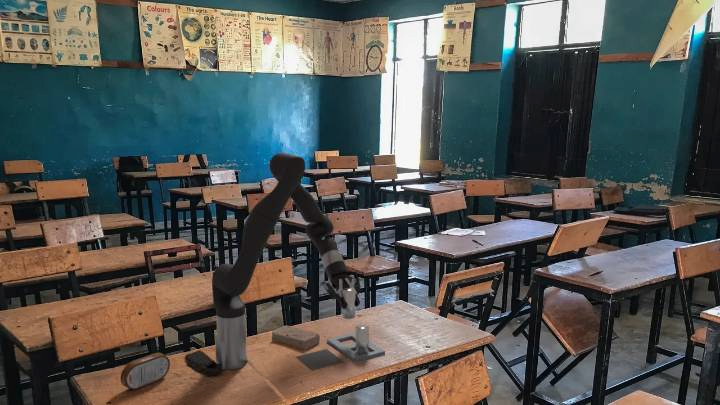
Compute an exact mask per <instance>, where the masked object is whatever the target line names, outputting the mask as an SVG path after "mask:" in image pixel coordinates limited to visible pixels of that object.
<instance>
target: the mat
mask: <svg viewBox="0 0 720 405" xmlns="http://www.w3.org/2000/svg"><path fill="white" fill-rule="evenodd" d="M295 358H296V359H297V360H298V361H299V362H301V363H302V364H303V365H305V367H307V369H309V370H310V371H312V372H313V371H315V370H319V369H323V368H327V367H330V366H334V365H337V364H342V363H345V361H343V360H342V359H341V358H340V357H338V356H337V355H336V354H334V353H333V352H331V351H330V350H329V349H327V348H325V349H321V350H316V351H313V352H309V353H305V354H301V355H296V356H295Z"/></svg>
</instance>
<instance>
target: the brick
mask: <svg viewBox="0 0 720 405" xmlns="http://www.w3.org/2000/svg"><path fill="white" fill-rule="evenodd" d="M271 343H274V344H277V343H282V344H285V345H289V346H292V347H295V348H298V349H301V350H308V349H310V348H312V347H314V346H316V345H317V344H319V343H320V334H319V333H317V332H314V331H310V330H304V329H301V328H298V327H295V326H292V325H291V326H290V325H284V326H281V327H278V328H277V329H275V330H273V331H272V332H271Z"/></svg>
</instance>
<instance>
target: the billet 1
mask: <svg viewBox="0 0 720 405" xmlns="http://www.w3.org/2000/svg"><path fill="white" fill-rule="evenodd" d="M342 295H343V296H342V297H344V300H345V302H346V304H347V308H346V309H343V308H341V309H342V310H341V311H342V312H341V313H342V319H345V320H352V319H355V318H356V306H355V288H343V289H342Z"/></svg>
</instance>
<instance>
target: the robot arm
mask: <svg viewBox="0 0 720 405" xmlns="http://www.w3.org/2000/svg"><path fill="white" fill-rule="evenodd" d="M269 170H270V172H271V175H272V176H273V177H274V178H275V180H276V181H277V184H276V186H275V187H274V188H273V189H272V190H271V191H270V192H269V193H268V194H267V195H265V196H264V197H263V198H262V199H260V200H259V201H258V202H257V203H256V204H255V205H254V206H253V207H252V209H251V211H250V212H249V215H248V217H247V219H246V221H245V222H244V226H243V231H242V243H241V249H240V252H239V254H238V257H237V259H236V261H235V262H234V264H230V263H223V264H219V265H218V266H217V267H216V268H215V270H214V272H213V273H212V278H211V289H212V290H211V291H212V300H213V307H214V308H215V309H214V310H215V311H216V312H215V314H216V335H215V336H214V341H215V346H214V347H215V362H216V363H217V364H219V365H221V366H222V368H221V370H222V371H224V370H236V369H240V368H243V367H245V366H246V364H247V363H248V361H247V360H248V358H247V357H248V356H247V353H248V352H247V322H246V321H247V319H246V314H247V313H246V304H245V303H244V302H243V300H242V299H241V295H242V294H244V292H246V290H247V289H248V287H249V285H250V283H251V280H252V278H253V275H254V272H255V271H256V270H255V269H256V267H257V265H258V262H259V260H260V257H261V255H262V253H263V252H264V249H265V247H266V244H267V243H268V241H269V238H270V237H271V235H272V233H273V231H274V229H275V227H276V225H277V223H278V220H279V219H280V217H281V214H282V213H283V211H284V209H285V207H286V205H287V203H288V202H289V200H290V199H291V200H292V202H293V203H294V204H295V207H296V209H297V210H298V212H299V214H300V216H301V217H302V219H303V220H304V221H305V223H307V224H306V226H305V227H304V228H305V234H306V236H307V237H308V239H309V240H310V241H311V242H312V243H313V244H314V246H315V248H317V251H318V253H319V256H320V258H321V262H322V265H323V268H324V270H325V273H326V276H327V278H328V280H329V282H326V284H325V285H324V287H323V288H324V290H325V291H326V293H327V294H328V295H329V296H330V298H331V299H332V300H337V301H338V303H339V306H340V308H341V309H342V308H343V309H346V308H347V304H346V302H345V300H344V297H342V296H343V295H342V289H343V288H354V289H355V308H357V307H359V306H360V304H361V301H360V299H359V298H360V297H359V296H358V295H359V294H360V293H361V292H362V288H361V283H360V278H359V277H356V278H355V277H354V278H352V277H351V276H350V274H349V270H348V268H347V265H346V262H345V260H344V259H343V256H342V254H341V253H340V251H339V248H338V246H337V244H336V241H335V240H334V238H325V237H327V236H329V235H331V234H332V233H333V231H334V227H335V226H334V224H333V222H332V221H331V219H330V218H329V217H328V216H327V215H326V214H324V213H323V211H322V210H321V209H320V206H319V205H318V203H317V201H316V199H315V198H314V197H313V195H312V194H311V193H310V192H309V191H308V190H307V189H306V188H305V187H304V186H303V185H302V184H301V183H300V182H301V180H302V178H303V176H304V174H305V172H306V161H305V159H304V157H302V156H300V155H297V154H291V153H286V152H278V153H275V154H274V155H273V156H272V157H271V159H270V161H269ZM323 238H324V239H323ZM221 370H220V371H221Z"/></svg>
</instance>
